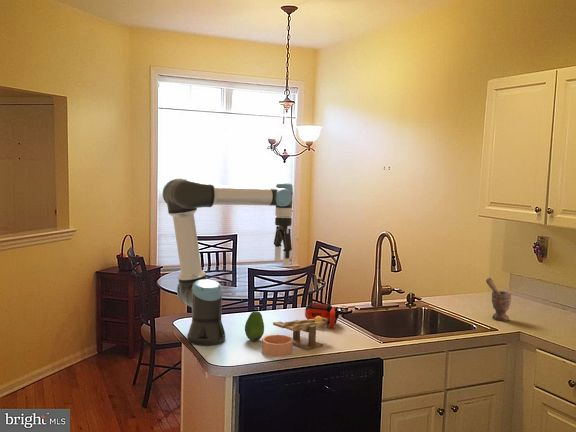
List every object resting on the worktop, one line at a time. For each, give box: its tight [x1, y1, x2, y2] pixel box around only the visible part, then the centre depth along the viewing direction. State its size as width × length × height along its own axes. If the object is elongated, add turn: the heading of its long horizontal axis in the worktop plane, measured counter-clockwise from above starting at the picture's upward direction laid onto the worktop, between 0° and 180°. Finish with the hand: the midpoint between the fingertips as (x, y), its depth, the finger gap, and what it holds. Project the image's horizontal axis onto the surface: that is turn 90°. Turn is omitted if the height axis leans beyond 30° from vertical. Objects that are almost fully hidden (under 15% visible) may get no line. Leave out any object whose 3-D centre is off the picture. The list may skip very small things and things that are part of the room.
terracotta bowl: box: [261, 334, 294, 357], centre depth 203 cm, size 12×12×4 cm
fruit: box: [244, 310, 265, 342], centre depth 215 cm, size 8×8×12 cm
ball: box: [315, 316, 322, 322], centre depth 217 cm, size 3×3×3 cm
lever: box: [272, 317, 328, 333], centre depth 214 cm, size 19×12×4 cm, turn 131°
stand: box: [291, 319, 324, 351], centre depth 212 cm, size 8×13×8 cm, turn 41°
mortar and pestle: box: [485, 277, 512, 322], centre depth 256 cm, size 12×9×20 cm
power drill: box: [304, 302, 340, 329], centre depth 241 cm, size 15×9×15 cm
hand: (281, 263), depth 245 cm, fingers open, 13 cm apart
